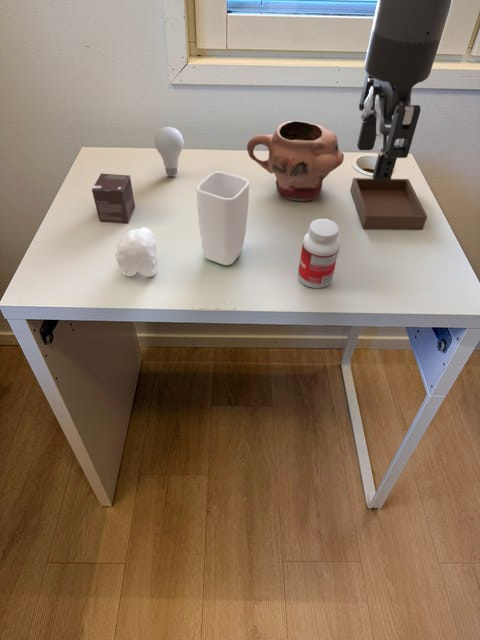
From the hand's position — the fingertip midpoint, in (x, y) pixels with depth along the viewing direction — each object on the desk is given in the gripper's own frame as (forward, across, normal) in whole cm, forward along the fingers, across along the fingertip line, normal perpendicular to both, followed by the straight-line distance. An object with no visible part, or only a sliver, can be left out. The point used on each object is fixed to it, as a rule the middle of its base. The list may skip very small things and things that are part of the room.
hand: (372, 164), depth 63 cm
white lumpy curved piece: (+24, +9, +34) cm, 43 cm away
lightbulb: (+24, +39, +30) cm, 55 cm away
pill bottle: (+24, +4, +4) cm, 25 cm away
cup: (+24, +11, +20) cm, 33 cm away
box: (+24, +24, +41) cm, 53 cm away
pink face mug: (+24, +33, +4) cm, 41 cm away
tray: (+24, +25, -15) cm, 38 cm away
